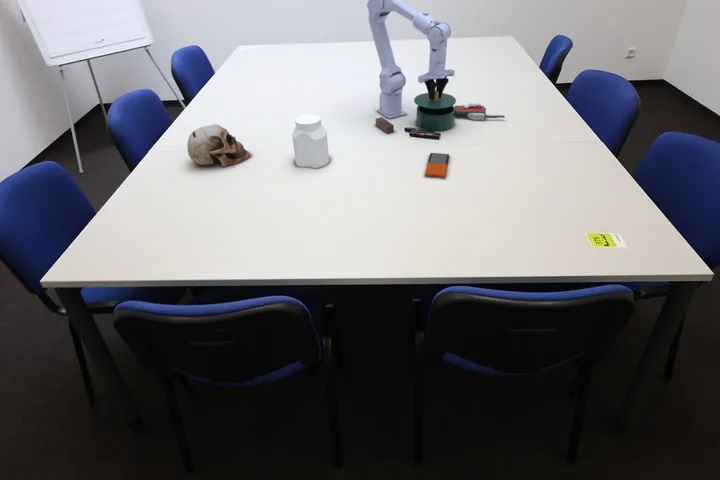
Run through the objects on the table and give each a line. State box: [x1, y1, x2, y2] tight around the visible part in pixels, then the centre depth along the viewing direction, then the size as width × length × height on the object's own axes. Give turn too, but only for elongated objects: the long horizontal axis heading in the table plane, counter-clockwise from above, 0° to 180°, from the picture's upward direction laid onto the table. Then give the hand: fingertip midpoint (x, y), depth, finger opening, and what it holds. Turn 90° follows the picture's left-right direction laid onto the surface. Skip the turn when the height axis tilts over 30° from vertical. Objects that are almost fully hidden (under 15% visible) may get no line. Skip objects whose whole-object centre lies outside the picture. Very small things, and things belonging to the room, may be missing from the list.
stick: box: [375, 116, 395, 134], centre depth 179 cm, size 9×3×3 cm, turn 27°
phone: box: [424, 152, 450, 179], centre depth 154 cm, size 6×1×15 cm
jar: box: [291, 113, 330, 169], centre depth 156 cm, size 12×10×15 cm
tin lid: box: [413, 89, 457, 109], centre depth 175 cm, size 15×15×4 cm
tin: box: [415, 105, 456, 132], centre depth 180 cm, size 14×14×6 cm
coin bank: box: [186, 123, 251, 168], centre depth 160 cm, size 16×17×13 cm
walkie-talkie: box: [454, 103, 506, 121], centre depth 185 cm, size 9×4×20 cm
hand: (434, 98), depth 175 cm, fingers closed on tin lid, 2 cm apart
